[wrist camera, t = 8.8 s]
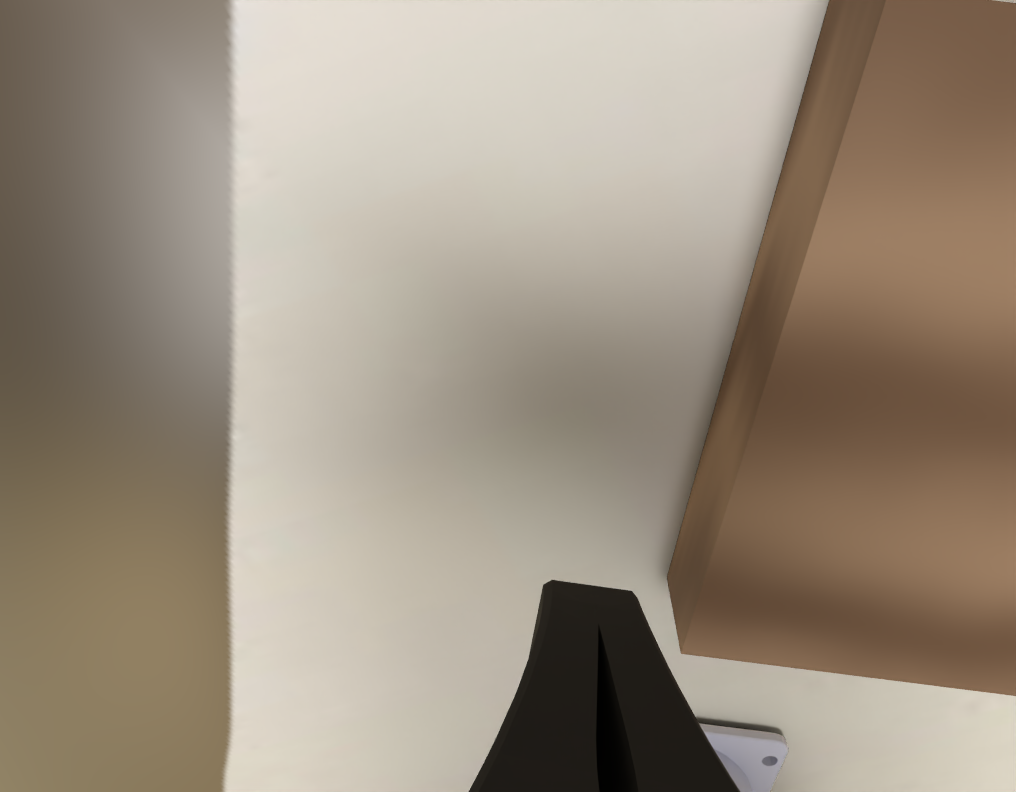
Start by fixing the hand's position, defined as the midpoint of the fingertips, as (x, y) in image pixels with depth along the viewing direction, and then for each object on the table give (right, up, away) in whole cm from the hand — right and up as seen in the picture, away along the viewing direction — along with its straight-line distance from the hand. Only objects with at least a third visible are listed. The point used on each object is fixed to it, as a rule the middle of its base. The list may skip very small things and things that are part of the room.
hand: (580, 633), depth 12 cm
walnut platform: (+10, +4, +8) cm, 13 cm away
